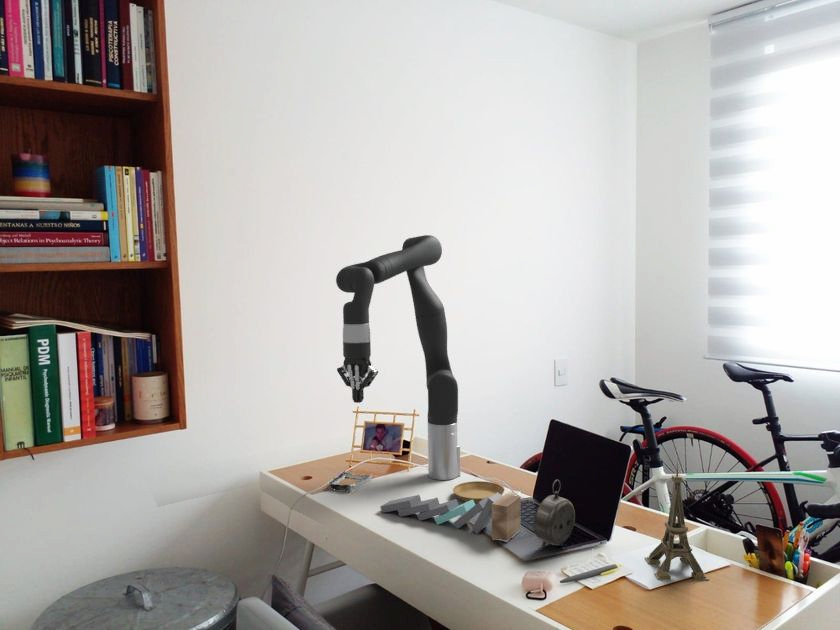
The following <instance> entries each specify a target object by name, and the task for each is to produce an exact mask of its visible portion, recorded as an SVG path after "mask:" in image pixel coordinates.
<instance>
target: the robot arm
mask: <svg viewBox="0 0 840 630" xmlns="http://www.w3.org/2000/svg"><path fill="white" fill-rule="evenodd" d="M442 249H443V248H442V244H441V241H440V240H439V238H437V237H436V236H434V235H431V234H430V235H427V234H426V235H420V236H413V237H409V238H407V239H405V240H404V242H403V244H402V249H400V250H395V251H392V252H388V253H385V254H382V255H379V256H377V257H373V258H371V259H369V260H368V261H364V262H358V263H354V264H351V265H347V266H345V267H343V268H341V269H340V270H339V271H338V273H337V275H336V279H335V283H336V286H337V288H338V289H339V291H342V292H344V293H347V294H349V293H350V294H352V293H353V298H352V300H350V301H348V302H345V303H344V304H343V307H342V313H343V314H342V315H343V321H342V322H343V324H342V325H343V326H342V355H343V357H344V360H343V363H342V364H343V365H341V366H339V367H337V368H336V371H337V373H338V375H339V376H340V378H341V380H342V381H343V383H344V384H345V386H346V387H349V388H350V389H351V392H352V393H351V395H352V396H351V397H352V401H353V403H357V404H358V403H359V404H360V403H362V402H363V401H364V397H365V396H364V389H365V388H367V387H370V386H371V384H372V382H373V381H374V380H375V378H376V377H377V375H378V374H379V370H378V369H374V368H373V366H372V362H371V360H370V359H371V354H372V351H371V328H370V313H369V312H370V310H369V309H370V305H371V301H372V296H373V292H374V289H375V285H377V284H380V283H384V282H385V281H387V280H390V279H392V278H393V277H396V276H398V275H401V274H402V273H406V276H407V279H408V283H409V286H410V287H409V288H410V293H411V296H412V302H413V308H414V316H415V321H416V329H417V334H418V336H419V337H418V338H419V341H420V344H421V349H422V351H423V355H424V363H425V375H426V377H425V378H426V390H427V455H428V456H427V459H428V460H427V462H428V469H427V470H428V471H427V472H428V477H429V478H430V479H433V480H438V481H447V480H452V479H453V480H454V479H455V478H458V477H460V476H461V446H460V444H458V414H459V385H458V381H457V380H456V377H455V376H454V374H453V371H452V368H451V363H450V360H449V355H448V325H447V324H448V323H447V318H446V312H445V307H444V304H443V303H442V301H441V299H440V298H439V296H438V295H437V294H436V292H435V291H434V290H433V288H432V286H431V285H430V283H429V282H428V279H427V276H426V271H425V267H426V266H428V267H429V266H431V265H435V264H436V263H438V262H439V260H440V259H441V257H442V254H443V250H442Z"/></svg>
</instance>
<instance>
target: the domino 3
mask: <svg viewBox="0 0 840 630" xmlns="http://www.w3.org/2000/svg"><path fill="white" fill-rule="evenodd" d="M457 506H459V502H458V500H457V498H455V499H452V500H449V501H446V502H443V503H439V505H438V506H436V507H434V508H433V509H431V510H429V511H424V512H420V513H416V516H417V519H418V521H419V522H421V521H424V520H427V519H431V518H433V517H434V518H435V517H437V516H439V515H440V514H444V513H447V512H450V511H451V510H453V509H454V508H456V507H457Z"/></svg>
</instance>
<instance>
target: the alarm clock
mask: <svg viewBox="0 0 840 630" xmlns="http://www.w3.org/2000/svg"><path fill="white" fill-rule="evenodd" d="M556 482H558V484H559V487H558V491H557V490H556V491H555V490H554V489H555V488H554V487H555V484H556ZM561 485H562V484H561V480H559V479H555V480H554V481H553V483H552V487H551V488H552V493H553V494H550V495H548V496H546V497H545V498H544V499H543V500H542V501H541V503H540V504H539V506H538V508H537V510H536V512H535V516H534V521H533V522H534V527H533V528H534V533H535V535H536V537H537V539H538V540H540V541H542V544H541V547H540V549H541V548H543V549H544V547H545V546H546V544H550V545H552V546H562V545H563V546H564V543H565V542H566V541H567V540H568V539H569V537H570V536H571V534H572V531H573V529H574V525H575V521H576V511H575V508H574V505H573V503H572V502H571V501H570V500H569V499H567V498H564V497H561V496H559V492H560V490H561V488H562V487H561Z"/></svg>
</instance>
